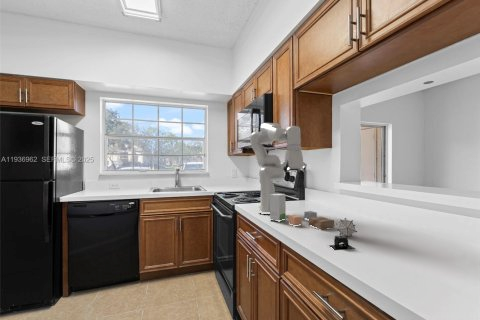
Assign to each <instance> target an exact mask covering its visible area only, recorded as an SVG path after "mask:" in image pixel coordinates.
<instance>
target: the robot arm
mask: <svg viewBox="0 0 480 320" xmlns="http://www.w3.org/2000/svg"><path fill="white" fill-rule="evenodd" d="M249 137H250V138H249V140H250V141H249V143H250V145H251V148H252V150H253V152H254V154H255V158H256V162H257V165H258V166H259V167H260V169H259V171H258V172H259V173H258V175H259V182H260V206H259V207H258V208H259V211H260V210H261V211H262V212H270V194H276V193H275V192H276V191H275V188H276V187H275V184H274V183H273V182H275V181H278V182H279V181H282V180H284V179H285V180H291V172H290V171H291V170H296V169H297V170H298V171H299V172H298V180H305V177H304V176H305V175H304V173H305V171H306V169H307V163H305V162H304V157H303V151H302V149H303V147H302V144H301V142H302V139H301V138H302V137H301V128H300V126H299V125H292V126H291V125H290V126H289V127H287V128H282V127H281V125H280V124H279V123H277V122H275V123H274V122H264V123H262V124H261V125H260V131H254V132H252V133H251V134H250V136H249ZM275 142H283V143H286V150H285V153H284V162H281V159H280V157H279V156H278V155H276V154H268V152H267V149H266V147H265V146H264V145H263V144H265V145H268V144H269V145H270V144H273V143H275Z"/></svg>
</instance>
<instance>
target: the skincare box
mask: <svg viewBox="0 0 480 320" xmlns="http://www.w3.org/2000/svg"><path fill="white" fill-rule="evenodd" d="M286 210H287V209H286V194H285V193H275V194H270V215H269V219H273V220H282V219H285V218H286V217H287V215H286V214H287V213H286Z"/></svg>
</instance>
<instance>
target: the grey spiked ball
mask: <svg viewBox="0 0 480 320" xmlns="http://www.w3.org/2000/svg"><path fill="white" fill-rule="evenodd" d="M335 225H337V229H336V231H339V236H345V237H347V239H348V238H349V236H351V237H352V236H353V234H354V233H355V232H356V233H358V231H357V230H356V228H355V226H356V224H354V220H353V219H352V220H349V219H347V217H344V219H341V218H340V220H339V222H338V223H335Z"/></svg>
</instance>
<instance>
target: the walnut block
mask: <svg viewBox="0 0 480 320" xmlns="http://www.w3.org/2000/svg"><path fill="white" fill-rule="evenodd" d="M309 225H312V226H314V227H317V228H319V229H326V230H328V229H327V228H333V227H334V228H335V220H334V219H331V218H327V217H324V216H317V217H314V218H309V221H308V226H309ZM334 228H333V229H334ZM319 229H318V230H319Z"/></svg>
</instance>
